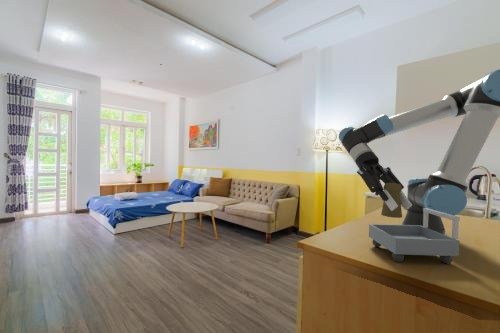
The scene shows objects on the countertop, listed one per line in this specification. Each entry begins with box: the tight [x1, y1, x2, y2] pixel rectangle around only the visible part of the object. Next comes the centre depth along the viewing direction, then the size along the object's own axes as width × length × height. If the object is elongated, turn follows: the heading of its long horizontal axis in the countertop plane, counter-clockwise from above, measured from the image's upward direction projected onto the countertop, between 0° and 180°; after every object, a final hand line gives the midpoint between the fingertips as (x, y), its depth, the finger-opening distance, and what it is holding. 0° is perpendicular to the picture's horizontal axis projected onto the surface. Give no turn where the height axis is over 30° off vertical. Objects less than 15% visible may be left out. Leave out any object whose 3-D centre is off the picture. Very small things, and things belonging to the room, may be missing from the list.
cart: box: [368, 208, 460, 264], centre depth 75 cm, size 19×16×14 cm
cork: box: [380, 183, 403, 219], centre depth 78 cm, size 6×6×11 cm
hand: (401, 207), depth 75 cm, fingers closed on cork, 5 cm apart
